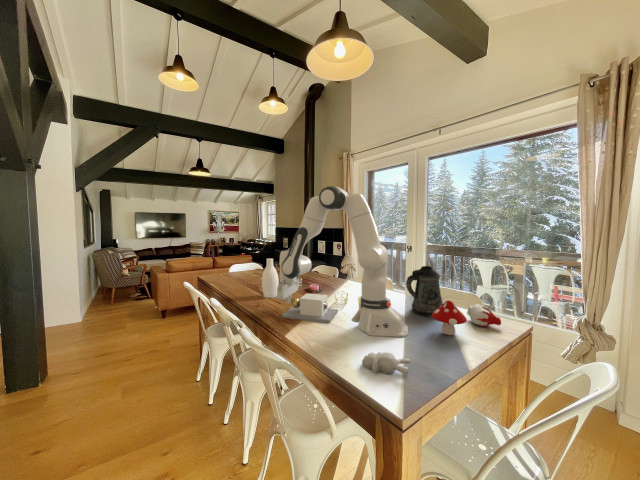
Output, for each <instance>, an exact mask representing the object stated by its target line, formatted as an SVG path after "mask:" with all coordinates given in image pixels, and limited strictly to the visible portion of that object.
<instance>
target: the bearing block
mask: <svg viewBox="0 0 640 480" xmlns="http://www.w3.org/2000/svg"><path fill="white" fill-rule="evenodd" d="M299 299H300V307H299V308H294V307H293V306H291V307H290V308H288V310H286V311H284V312H283V313H282V314H281V318H282V319H292V320H301V321H310V322H317V323H326V324H331V322H332V321H333V320H334V318H335V316H336V315H337V314H338V312H339V310H338V308H337V309H336V308H328V307H327V309H324V303H327V304H328V294H318V293H307V292H306V293H305V294H304V295H303V296H301V297H300V298H299Z"/></svg>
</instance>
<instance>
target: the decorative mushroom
mask: <svg viewBox="0 0 640 480" xmlns="http://www.w3.org/2000/svg"><path fill="white" fill-rule="evenodd" d="M431 318H432V319H434V320H435V321H438V322H440V323H442V325H441V332H442V333H443V334H444V335H446V336H453V335H455V334H456V327H455V325H463V324H465V323H467V321H468V320H467V318H466V316H465V315H464V312H462V311H461V310H459V308H458V307H457V306H456V304H455V303H454V302H453V301H451V300H445V301H444V302H443V304H442V305H441V306H440V307H439V308H438V309H437V310H435V311H434V312H433V313H432V317H431Z"/></svg>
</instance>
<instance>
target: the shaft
mask: <svg viewBox="0 0 640 480" xmlns="http://www.w3.org/2000/svg"><path fill="white" fill-rule="evenodd" d="M292 307H294V308H299V307H300V298H297V297H296V298H294V299H293V302H292ZM327 308H328V302H327V303H324V309H327Z"/></svg>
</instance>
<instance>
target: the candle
mask: <svg viewBox="0 0 640 480" xmlns="http://www.w3.org/2000/svg"><path fill="white" fill-rule="evenodd" d="M466 314H467V315H468V316H469V318H470V321H471V323H473V324H475V325H477V326H478V327H483V328H485V327H488V326H491V325H497V326H500V325H502V321H501V318H500V317H499V316H496V315H495V314H494V313H493V312H492V311H491V310H490V309H488V307H487V306H485V305H482V304H479V303H475V304H473V305H471V304H469V305H467V312H466Z"/></svg>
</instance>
